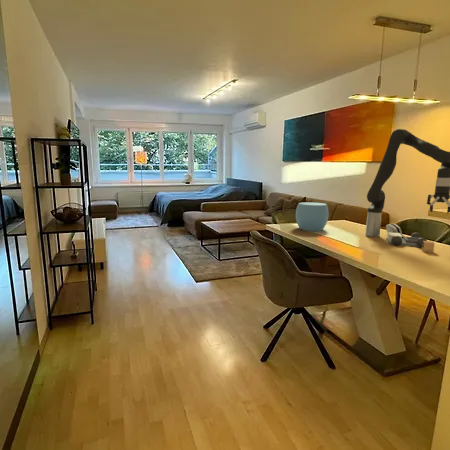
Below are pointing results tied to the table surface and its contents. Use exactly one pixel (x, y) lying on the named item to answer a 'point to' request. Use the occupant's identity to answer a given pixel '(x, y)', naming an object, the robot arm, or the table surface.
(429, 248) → the block
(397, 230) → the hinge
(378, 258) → the table surface
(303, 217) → the planter
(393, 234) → the chassis
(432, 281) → the table surface
